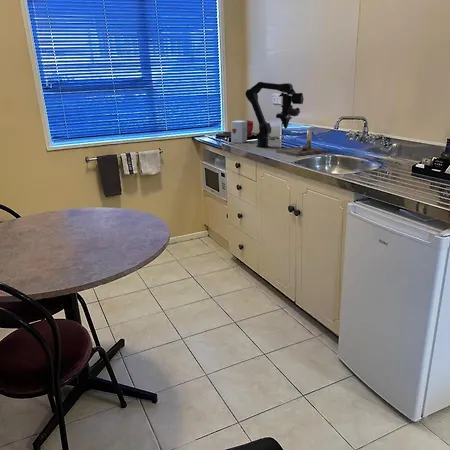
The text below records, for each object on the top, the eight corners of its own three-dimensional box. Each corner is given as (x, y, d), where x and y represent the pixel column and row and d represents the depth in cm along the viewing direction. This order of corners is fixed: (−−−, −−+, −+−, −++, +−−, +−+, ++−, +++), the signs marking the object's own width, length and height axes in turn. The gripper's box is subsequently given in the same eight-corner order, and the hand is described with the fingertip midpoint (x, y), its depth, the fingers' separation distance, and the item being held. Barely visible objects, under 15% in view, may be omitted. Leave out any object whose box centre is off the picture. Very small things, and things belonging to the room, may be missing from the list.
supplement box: (230, 142, 310) (230, 121, 305) (236, 140, 317) (236, 120, 312) (242, 143, 306) (242, 121, 301) (247, 141, 313) (247, 120, 308)
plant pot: (233, 136, 341) (233, 120, 337) (248, 135, 346) (248, 120, 342) (241, 138, 330) (241, 122, 326) (255, 137, 335) (256, 121, 331)
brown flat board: (295, 156, 254) (295, 153, 254) (276, 152, 269) (276, 149, 268) (324, 152, 267) (324, 149, 266) (304, 148, 281) (304, 145, 280)
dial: (301, 151, 257) (302, 133, 253) (294, 151, 259) (295, 132, 255) (312, 147, 272) (313, 130, 268) (306, 146, 274) (307, 129, 270)
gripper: (292, 105, 261) (291, 130, 266) (304, 103, 276) (302, 127, 281) (276, 104, 267) (275, 129, 272) (288, 102, 282) (287, 126, 287)
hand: (285, 128), depth 278 cm, fingers closed
